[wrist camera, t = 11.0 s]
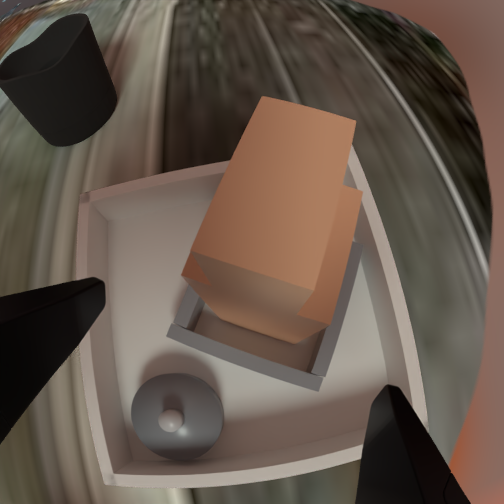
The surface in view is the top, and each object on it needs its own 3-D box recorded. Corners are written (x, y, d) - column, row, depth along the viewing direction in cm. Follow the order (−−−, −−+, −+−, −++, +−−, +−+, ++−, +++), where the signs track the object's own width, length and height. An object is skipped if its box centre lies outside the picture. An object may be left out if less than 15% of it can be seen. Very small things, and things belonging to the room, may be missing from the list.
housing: (400, 422, 17) (429, 432, 13) (130, 467, 16) (104, 484, 12) (340, 177, 23) (352, 145, 19) (104, 219, 22) (80, 194, 18)
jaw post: (293, 344, 18) (363, 306, 6) (221, 320, 19) (146, 235, 6) (315, 274, 19) (392, 134, 7) (246, 252, 20) (226, 89, 8)
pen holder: (59, 95, 28) (23, 34, 19) (130, 77, 28) (102, 3, 19) (32, 159, 25) (-22, 97, 16) (109, 143, 25) (61, 60, 15)
